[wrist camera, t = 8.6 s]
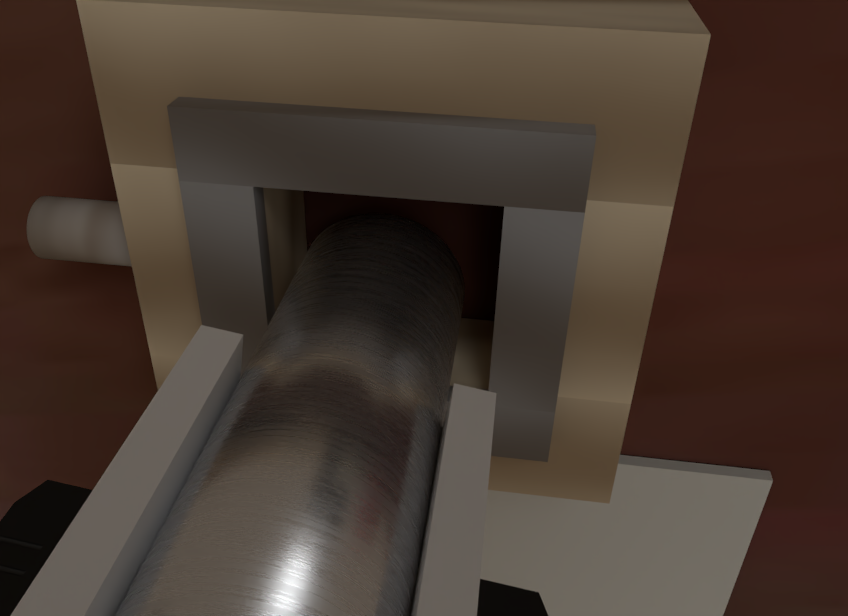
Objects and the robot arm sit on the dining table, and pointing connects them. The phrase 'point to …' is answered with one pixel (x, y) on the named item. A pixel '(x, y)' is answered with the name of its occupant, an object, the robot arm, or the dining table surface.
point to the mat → (630, 540)
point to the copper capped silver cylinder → (322, 441)
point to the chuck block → (404, 180)
